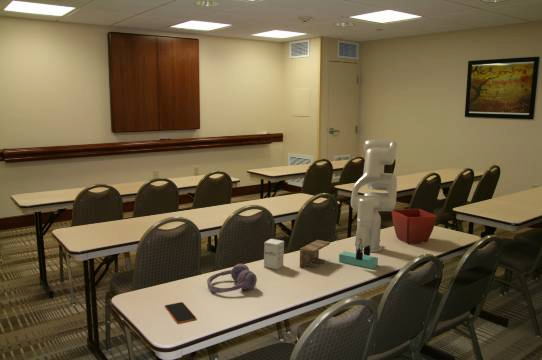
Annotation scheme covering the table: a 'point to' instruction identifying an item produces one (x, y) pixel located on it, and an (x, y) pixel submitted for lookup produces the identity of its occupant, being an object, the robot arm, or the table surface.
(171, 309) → the smartphone
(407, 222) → the plant pot
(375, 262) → the teal flat plank
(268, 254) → the supplement box
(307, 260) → the overhang shelf
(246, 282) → the headphones
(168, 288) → the table surface
